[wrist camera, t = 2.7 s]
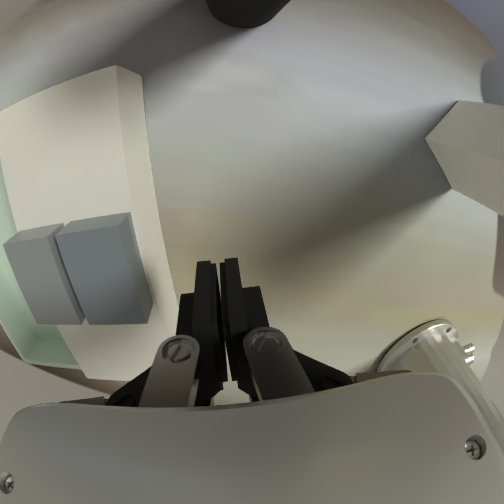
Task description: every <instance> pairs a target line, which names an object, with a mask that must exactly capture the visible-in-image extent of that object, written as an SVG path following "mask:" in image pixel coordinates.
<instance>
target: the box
mask: <svg viewBox="0 0 504 504" xmlns="http://www.w3.org/2000/svg"><path fill="white" fill-rule="evenodd" d="M16 233H18V231H17V228H16V225H15V221H14V218H13V214H12V211H11V207H10V203H9V199H8V195H7V190H6V186H5V181H4V176H3V171H2V165H1V159H0V324H1V326H2V327H3V329H4V331H5V333H6V334H7V336H8V338H9V339H10V341H11V343H12V344H13V346H14V347H15V349H16V350H17V352H18V354H19V355H20V357H21V358H22V360H23V361H24V363H29V364H36V365H43V366H51V367H60V368H70V369H81V368H80V366H79V365H78V363H77V361H76V360H75V358H74V356H73V355H72V353H71V351H70V350H69V348H68V346H67V344H66V343H65V341H64V339H63V337H62V335H61V333H60V332H59V330H58V328H57V326H56V325H51V324H37V322H36V320H35V318H34V316H33V314H32V313H31V311H30V309H29V306H28V304H27V302H26V300H25V298H24V296H23V294H22V292H21V289H20V287H19V285H18V283H17V280H16V278H15V275H14V273H13V271H12V268H11V266H10V263H9V260H8V258H7V255H6V252H5V249H4V247H3V244H4V243H5V242H6V241H8V240H9V239H10V238H11V237H13V236H14V235H15V234H16Z"/></svg>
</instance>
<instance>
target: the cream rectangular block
mask: <svg viewBox="0 0 504 504" xmlns="http://www.w3.org/2000/svg"><path fill="white" fill-rule="evenodd" d="M0 159H1V165H2V171H3V176H4V181H5V186H6V190H7V195H8V199H9V203H10V207H11V211H12V214H13V218H14V221H15V225H16V228H17V231H18V232H19V231H22V230H27V229H32V228H37V227H42V226H47V225H53V224H58V223H63V224H64V227H65V226H66V225H67V224H68V223H69V222H70V221H75V220H81V219H87V218H93V217H99V216H106V215H112V214H119V213H126V212H131V216H132V221H133V226H134V230H135V235H136V239H137V243H138V247H139V252H140V256H141V260H142V263H143V267H144V271H145V275H146V279H147V282H148V286H149V289H150V293H151V296H152V300H153V306H152V310H151V313H150V316H149V320H148V323H147V324H122V325H89V323H88V321H87V319H86V317H85V319H84V321H83V323H82V325H56V326H57V328H58V330H59V332H60V333H61V335H62V337H63V339H64V341H65V343H66V344H67V346H68V348H69V350H70V351H71V353H72V355H73V356H74V358H75V360H76V361H77V363H78V365H79V366H80V368H81V369H82V371H83V372H84V374H85V376H86V377H87V378H90V379H103V380H122V381H131V380H133V379H134V378H135V377H137V376H138V375H140V374H141V373H142V372H144V371H145V370H146V369H148V368H149V367H151V366H152V364H153V361H154V358H155V355H156V353H157V350H158V348H159V346H160V344H161V343H162V342H163V341H164V340H166V339H168V338H169V337H172V336H175V335H176V327H177V319H178V312H179V307H178V303H177V299H176V295H175V291H174V286H173V282H172V278H171V273H170V269H169V264H168V260H167V255H166V250H165V245H164V240H163V235H162V230H161V225H160V219H159V214H158V208H157V202H156V196H155V190H154V183H153V177H152V170H151V162H150V155H149V147H148V139H147V130H146V120H145V109H144V98H143V84H142V76H141V75H139V74H137V73H134V72H132V71H130V70H127V69H125V68H123V67H120V66H118V65H114V66H110V67H106V68H103V69H100V70H96V71H93V72H90V73H87V74H84V75H81V76H78V77H75V78H73V79H70V80H67V81H65V82H62V83H59V84H57V85H54V86H52V87H50V88H47V89H45V90H42V91H40V92H38V93H36V94H34V95H31V96H29V97H27V98H25V99H23V100H21V101H19V102H17V103H15V104H13V105H11V106H9V107H7V108H5V109H4V110H2V111H0Z"/></svg>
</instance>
